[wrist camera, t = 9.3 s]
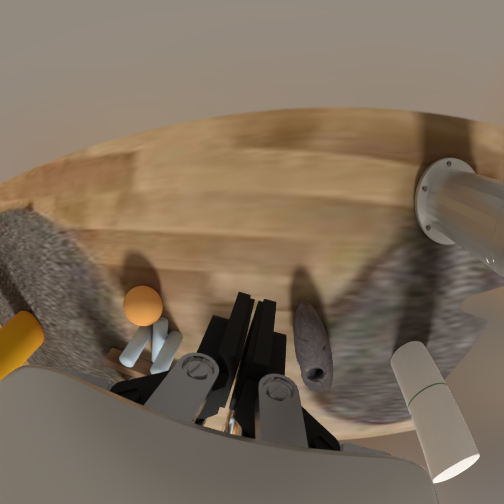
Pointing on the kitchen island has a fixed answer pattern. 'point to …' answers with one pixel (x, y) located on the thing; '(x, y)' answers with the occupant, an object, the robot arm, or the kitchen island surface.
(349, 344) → the kitchen island surface
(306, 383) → the perforated stone tool
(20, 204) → the kitchen island surface
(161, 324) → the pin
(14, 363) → the beer bottle
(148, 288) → the ball
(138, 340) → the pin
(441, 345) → the kitchen island surface
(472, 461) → the cylindrical container
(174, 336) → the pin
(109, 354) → the rail
